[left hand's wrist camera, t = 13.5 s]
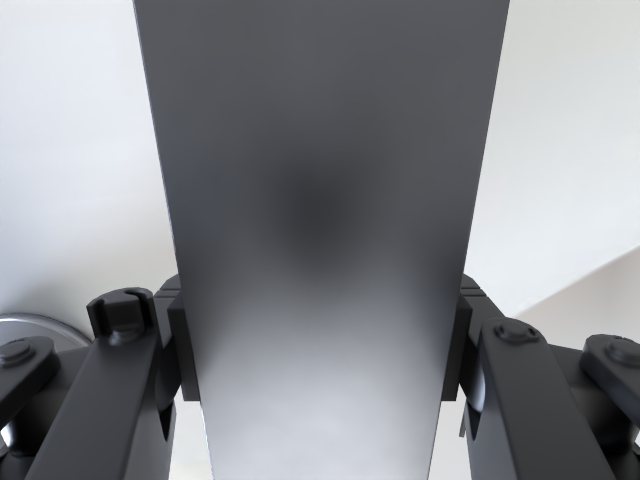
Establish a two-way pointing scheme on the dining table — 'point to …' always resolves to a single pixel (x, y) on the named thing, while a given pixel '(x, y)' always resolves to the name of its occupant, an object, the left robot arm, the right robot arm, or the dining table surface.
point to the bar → (320, 217)
